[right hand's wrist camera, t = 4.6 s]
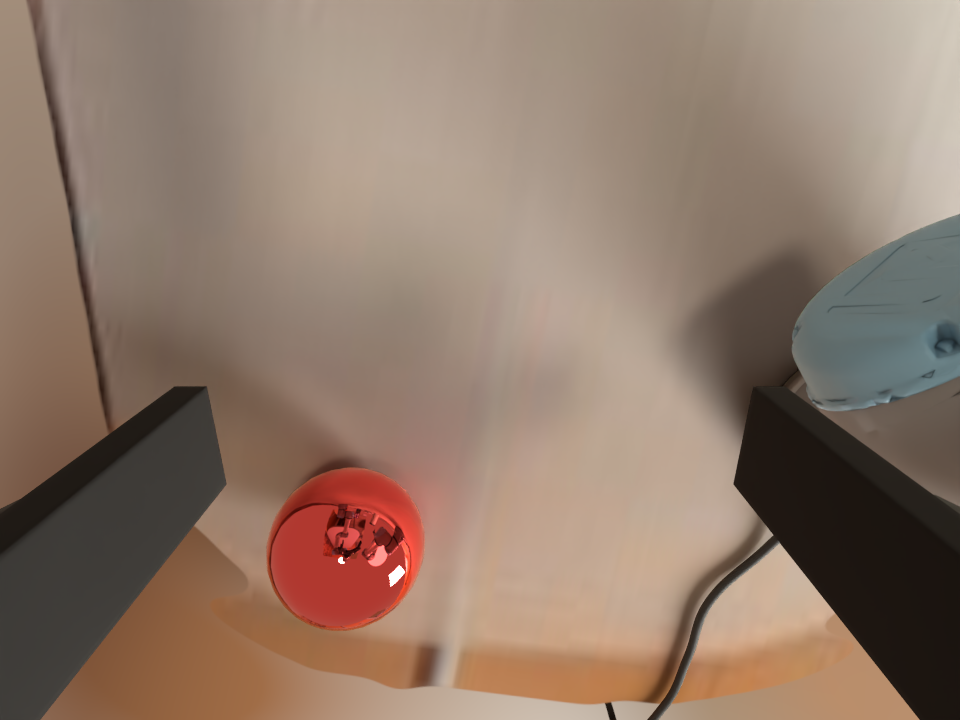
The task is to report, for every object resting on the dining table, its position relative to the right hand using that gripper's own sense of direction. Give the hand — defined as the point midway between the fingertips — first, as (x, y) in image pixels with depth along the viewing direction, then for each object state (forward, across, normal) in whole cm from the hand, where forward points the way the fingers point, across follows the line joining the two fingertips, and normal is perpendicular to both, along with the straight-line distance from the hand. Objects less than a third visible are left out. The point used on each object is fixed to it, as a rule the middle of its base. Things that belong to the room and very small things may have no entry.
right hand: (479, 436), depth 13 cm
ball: (+28, -10, -22) cm, 37 cm away
